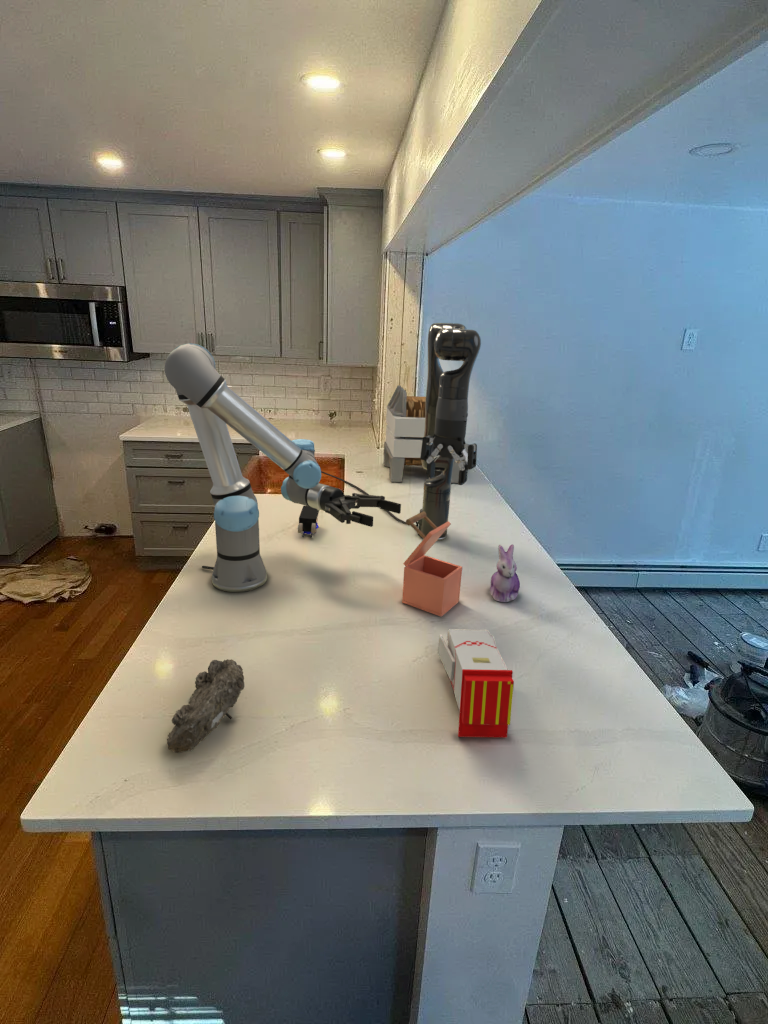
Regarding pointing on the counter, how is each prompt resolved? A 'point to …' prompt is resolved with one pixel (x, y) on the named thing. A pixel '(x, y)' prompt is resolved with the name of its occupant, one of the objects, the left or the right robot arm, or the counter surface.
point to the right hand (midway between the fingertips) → (446, 480)
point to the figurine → (505, 577)
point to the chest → (432, 585)
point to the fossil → (206, 705)
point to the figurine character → (308, 521)
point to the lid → (428, 539)
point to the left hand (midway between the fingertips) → (386, 515)
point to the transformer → (406, 434)
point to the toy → (478, 682)
